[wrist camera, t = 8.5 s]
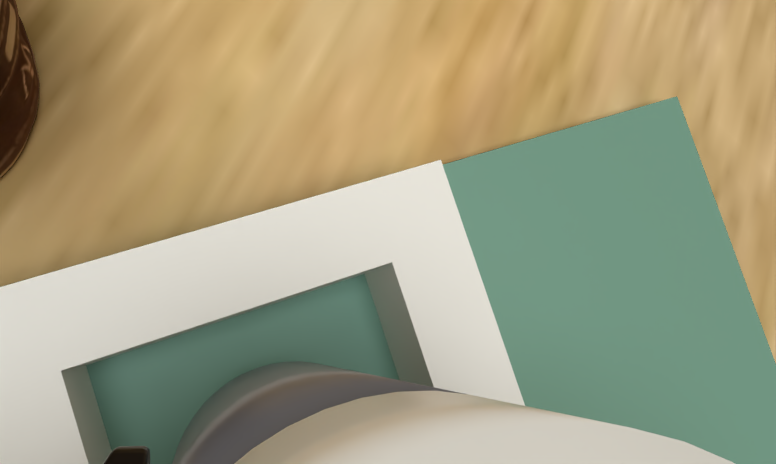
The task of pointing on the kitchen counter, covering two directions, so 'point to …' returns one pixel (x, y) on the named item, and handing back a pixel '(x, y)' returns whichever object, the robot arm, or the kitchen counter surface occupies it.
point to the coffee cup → (15, 85)
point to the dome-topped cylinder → (399, 426)
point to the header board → (552, 294)
